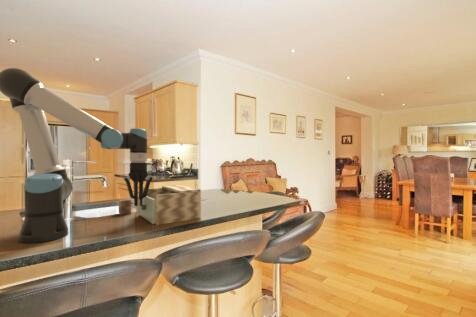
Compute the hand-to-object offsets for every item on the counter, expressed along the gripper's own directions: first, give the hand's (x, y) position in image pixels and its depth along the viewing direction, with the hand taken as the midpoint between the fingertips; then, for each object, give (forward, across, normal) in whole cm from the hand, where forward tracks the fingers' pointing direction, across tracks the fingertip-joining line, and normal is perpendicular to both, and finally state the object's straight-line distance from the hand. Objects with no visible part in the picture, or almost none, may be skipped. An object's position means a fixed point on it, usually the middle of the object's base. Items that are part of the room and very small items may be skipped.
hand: (138, 212), depth 127 cm
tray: (+4, +15, 0) cm, 15 cm away
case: (+4, +15, 0) cm, 15 cm away
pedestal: (+4, -1, +21) cm, 21 cm away
